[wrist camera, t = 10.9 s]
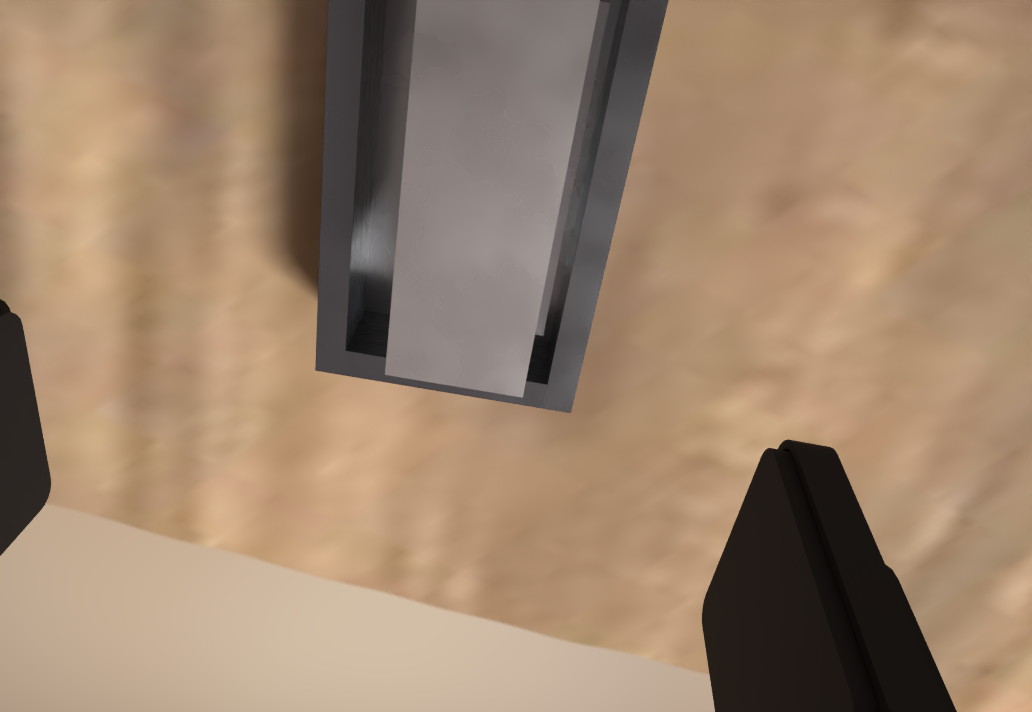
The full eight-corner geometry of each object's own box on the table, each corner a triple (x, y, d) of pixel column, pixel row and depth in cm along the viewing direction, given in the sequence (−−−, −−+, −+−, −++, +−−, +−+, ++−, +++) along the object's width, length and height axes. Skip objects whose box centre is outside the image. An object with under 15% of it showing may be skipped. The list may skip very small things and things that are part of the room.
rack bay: (696, -193, 22) (721, -210, 18) (570, 357, 31) (570, 422, 27) (372, -254, 22) (331, -283, 18) (342, 319, 31) (310, 379, 27)
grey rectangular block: (613, -80, 23) (627, -66, 17) (541, 292, 29) (533, 399, 23) (464, -106, 23) (425, -104, 17) (424, 272, 29) (384, 374, 23)
